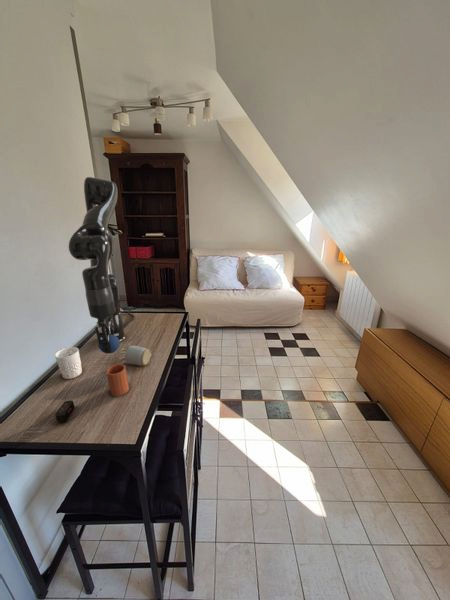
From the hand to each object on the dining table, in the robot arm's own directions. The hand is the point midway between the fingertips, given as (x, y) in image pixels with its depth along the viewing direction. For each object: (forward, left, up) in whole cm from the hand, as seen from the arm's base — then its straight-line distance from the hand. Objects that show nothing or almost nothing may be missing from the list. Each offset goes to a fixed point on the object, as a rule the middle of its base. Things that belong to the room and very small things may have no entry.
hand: (109, 346), depth 84 cm
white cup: (-15, -19, -18) cm, 31 cm away
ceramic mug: (-17, +7, -18) cm, 26 cm away
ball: (0, 0, +1) cm, 1 cm away
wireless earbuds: (+8, -15, -18) cm, 25 cm away
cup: (0, +1, -18) cm, 18 cm away
